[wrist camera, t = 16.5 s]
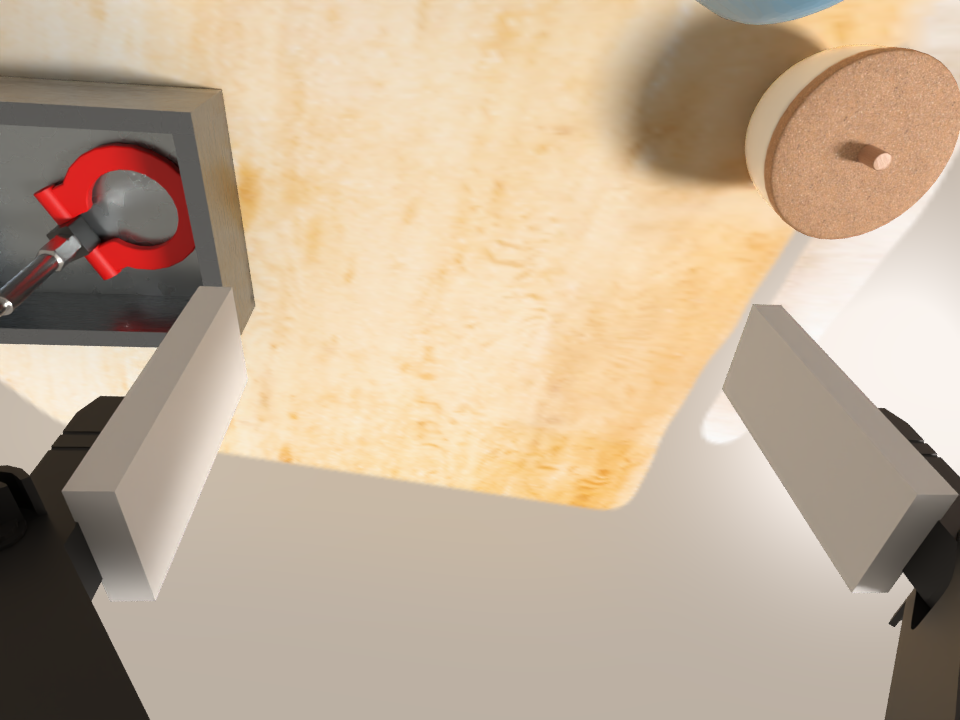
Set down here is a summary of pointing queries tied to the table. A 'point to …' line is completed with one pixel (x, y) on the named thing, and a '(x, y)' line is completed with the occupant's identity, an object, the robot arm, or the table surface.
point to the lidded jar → (852, 137)
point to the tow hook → (81, 240)
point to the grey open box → (117, 208)
